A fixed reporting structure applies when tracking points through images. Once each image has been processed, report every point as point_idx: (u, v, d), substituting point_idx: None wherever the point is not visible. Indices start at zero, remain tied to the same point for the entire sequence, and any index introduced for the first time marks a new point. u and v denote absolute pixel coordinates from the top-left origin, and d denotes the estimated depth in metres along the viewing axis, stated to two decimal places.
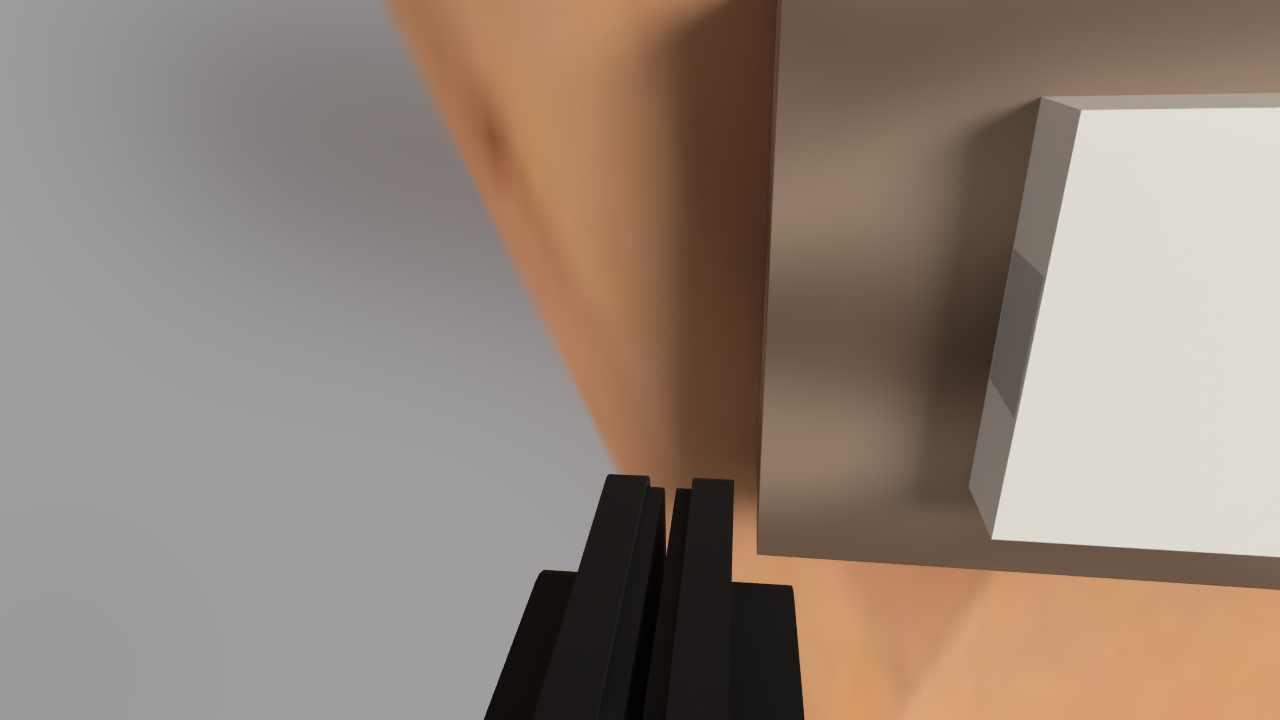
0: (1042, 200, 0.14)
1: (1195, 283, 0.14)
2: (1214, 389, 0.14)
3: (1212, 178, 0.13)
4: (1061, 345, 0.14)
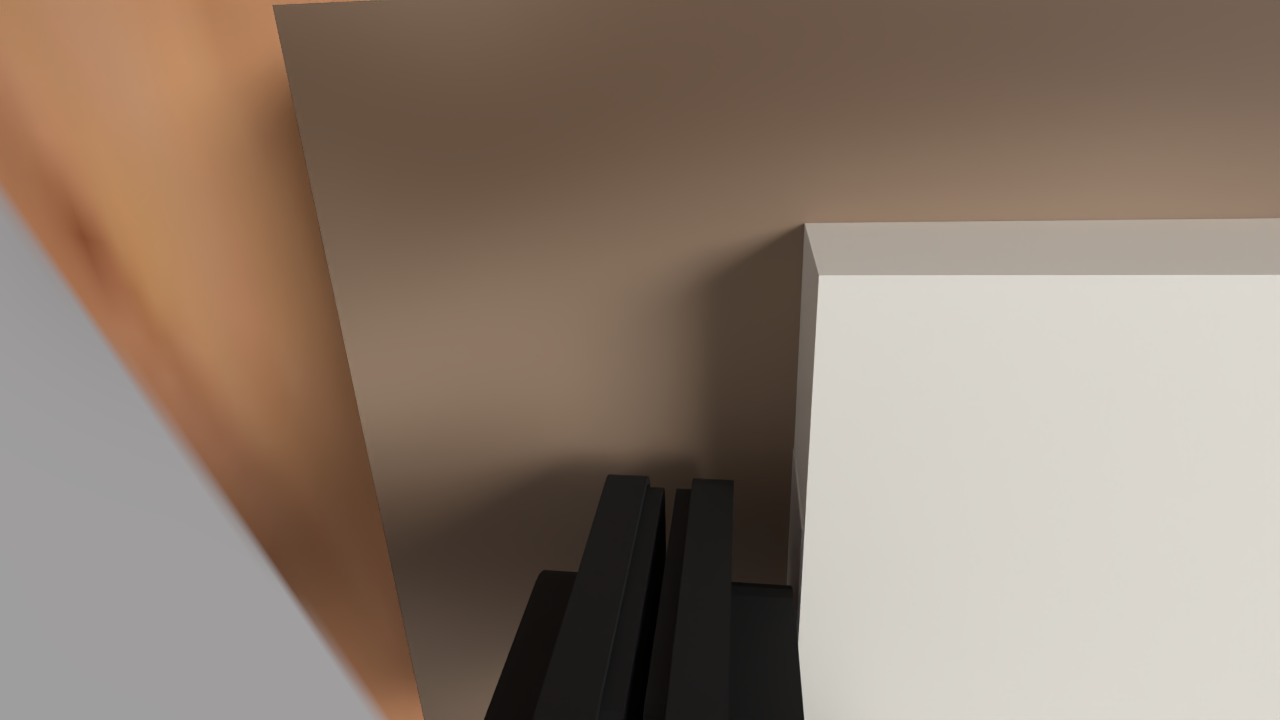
0: (803, 397, 0.09)
1: (1050, 550, 0.08)
2: (1100, 703, 0.09)
3: (1061, 390, 0.07)
4: (844, 633, 0.09)
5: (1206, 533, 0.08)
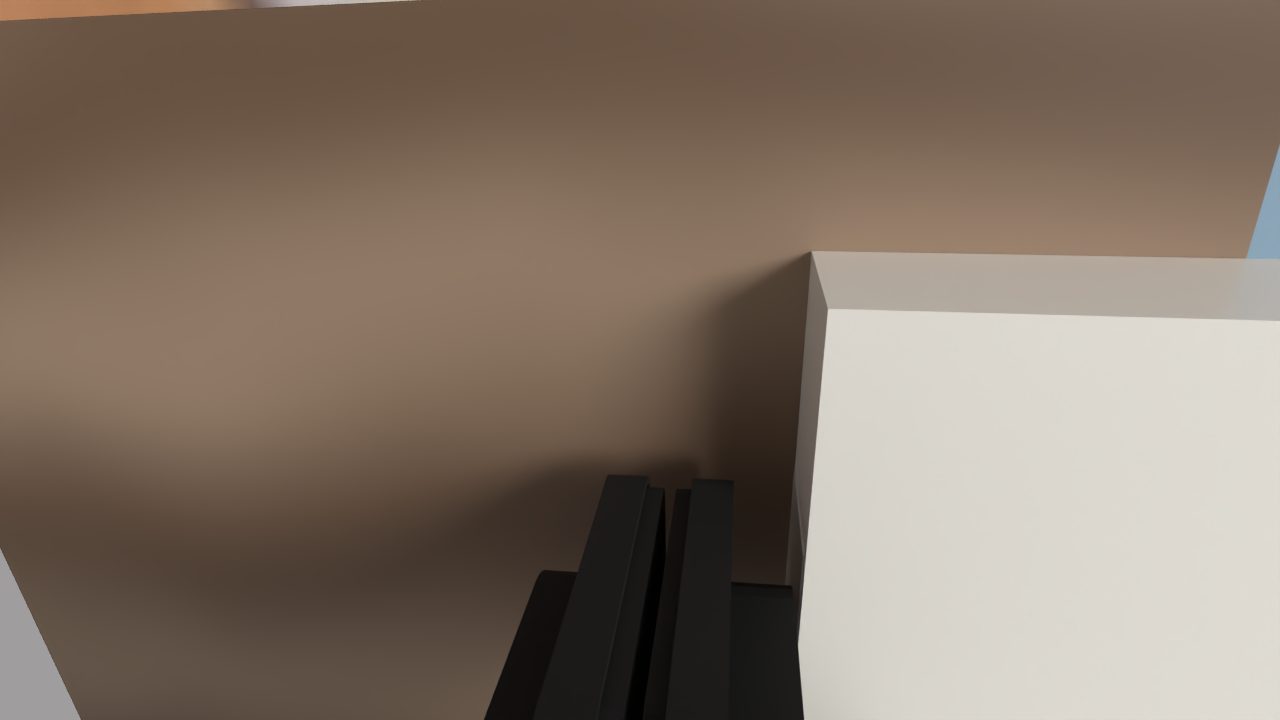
0: (807, 423, 0.09)
1: (1046, 580, 0.08)
2: None
3: (1061, 425, 0.07)
4: (842, 656, 0.09)
5: (1199, 568, 0.08)
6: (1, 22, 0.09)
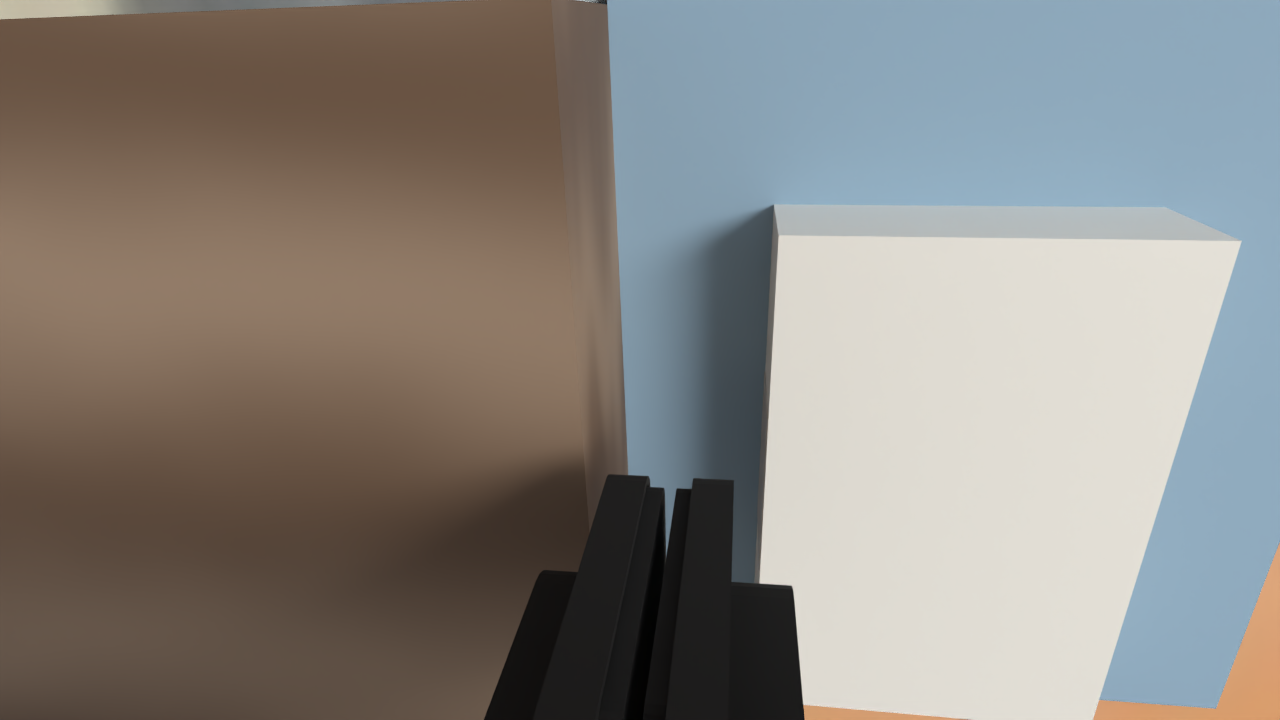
0: None
1: None
2: None
3: None
4: None
5: None
6: None
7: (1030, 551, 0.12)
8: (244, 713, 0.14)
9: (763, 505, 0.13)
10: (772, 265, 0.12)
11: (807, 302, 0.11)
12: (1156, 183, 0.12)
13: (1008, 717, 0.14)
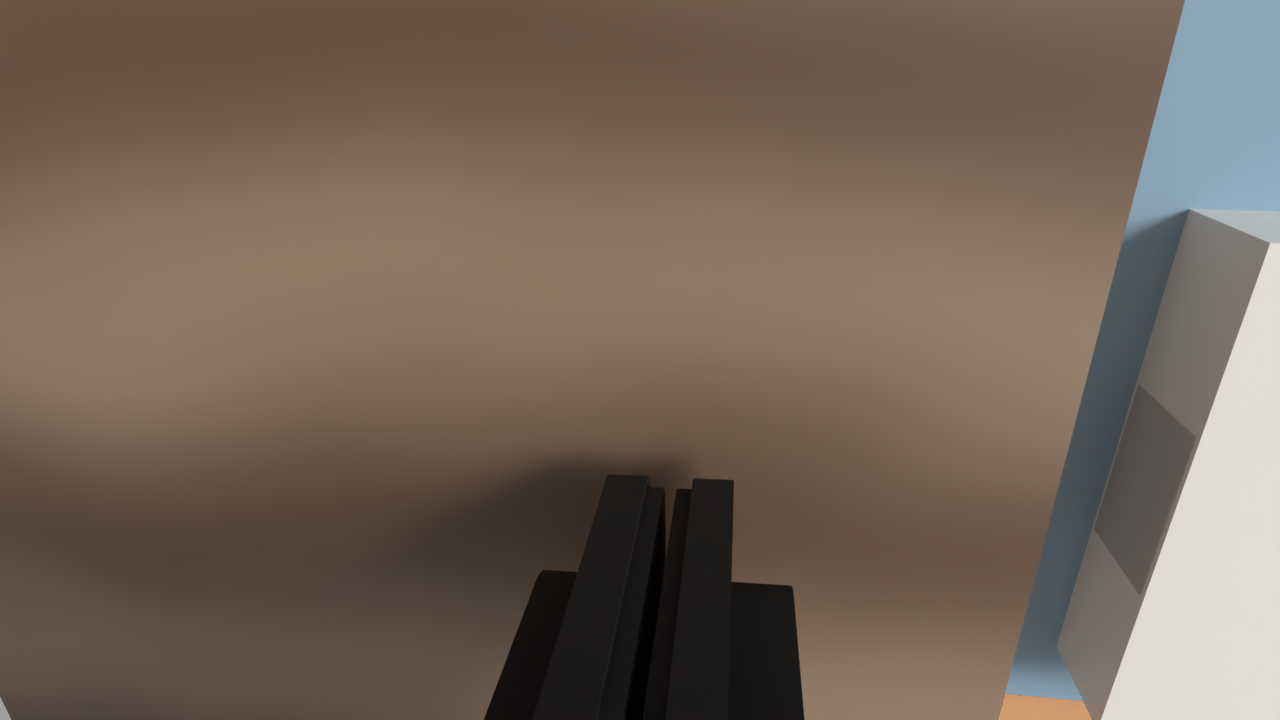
0: None
1: None
2: None
3: None
4: None
5: None
6: None
7: None
8: None
9: (1166, 528, 0.12)
10: (1195, 274, 0.11)
11: None
12: None
13: None
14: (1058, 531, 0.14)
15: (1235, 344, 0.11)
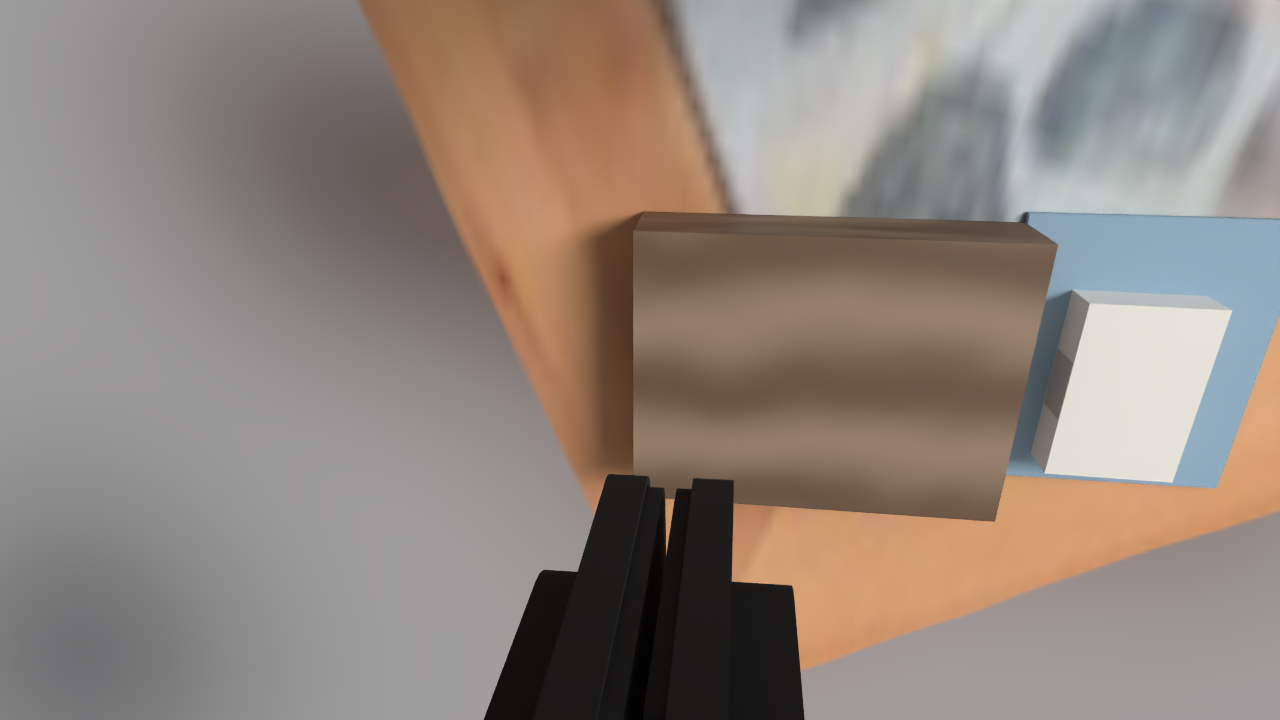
0: None
1: None
2: None
3: None
4: None
5: None
6: (712, 234, 0.33)
7: (1158, 411, 0.36)
8: (862, 469, 0.37)
9: (1065, 394, 0.36)
10: (1073, 311, 0.36)
11: (1095, 324, 0.34)
12: (1204, 288, 0.35)
13: (1142, 478, 0.37)
14: (1030, 404, 0.38)
15: (1082, 333, 0.35)
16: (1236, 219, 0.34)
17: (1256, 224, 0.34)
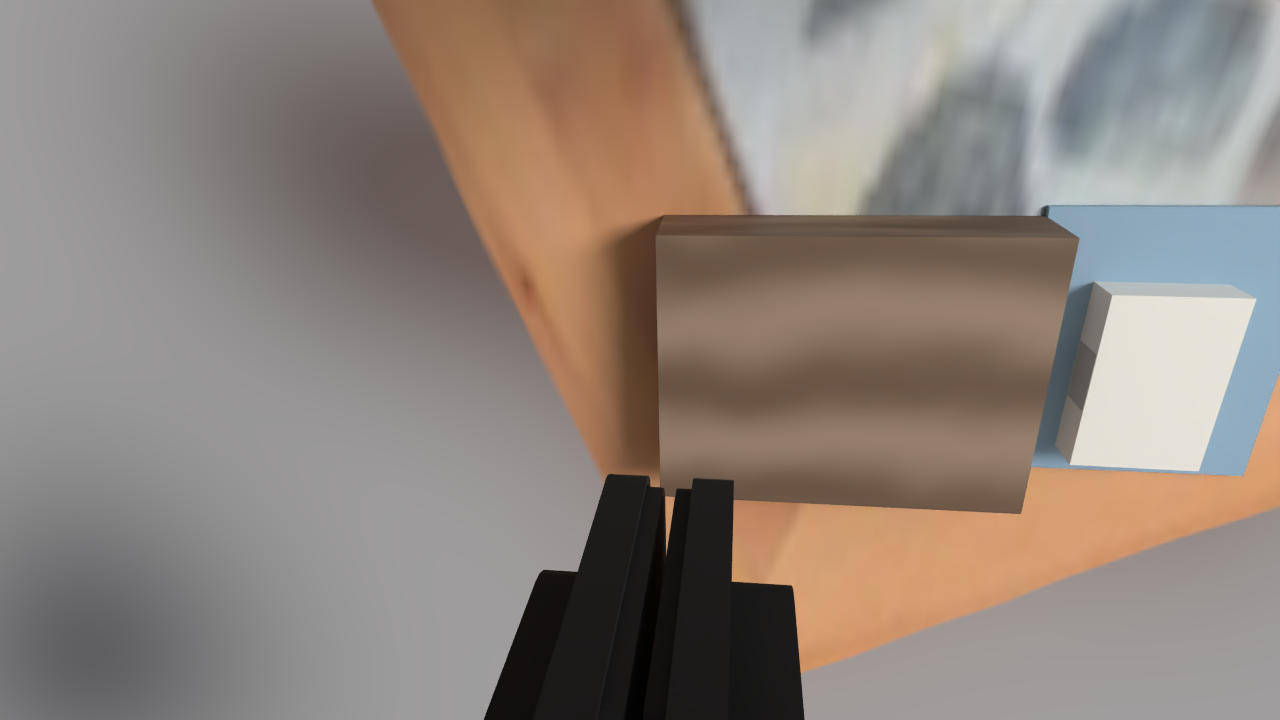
0: None
1: None
2: None
3: None
4: None
5: None
6: (733, 236, 0.34)
7: (1183, 400, 0.36)
8: (887, 465, 0.37)
9: (1089, 385, 0.36)
10: (1095, 302, 0.36)
11: (1118, 315, 0.35)
12: (1228, 277, 0.35)
13: (1168, 467, 0.37)
14: (1054, 396, 0.39)
15: (1105, 324, 0.35)
16: (1258, 207, 0.34)
17: (1279, 211, 0.34)
